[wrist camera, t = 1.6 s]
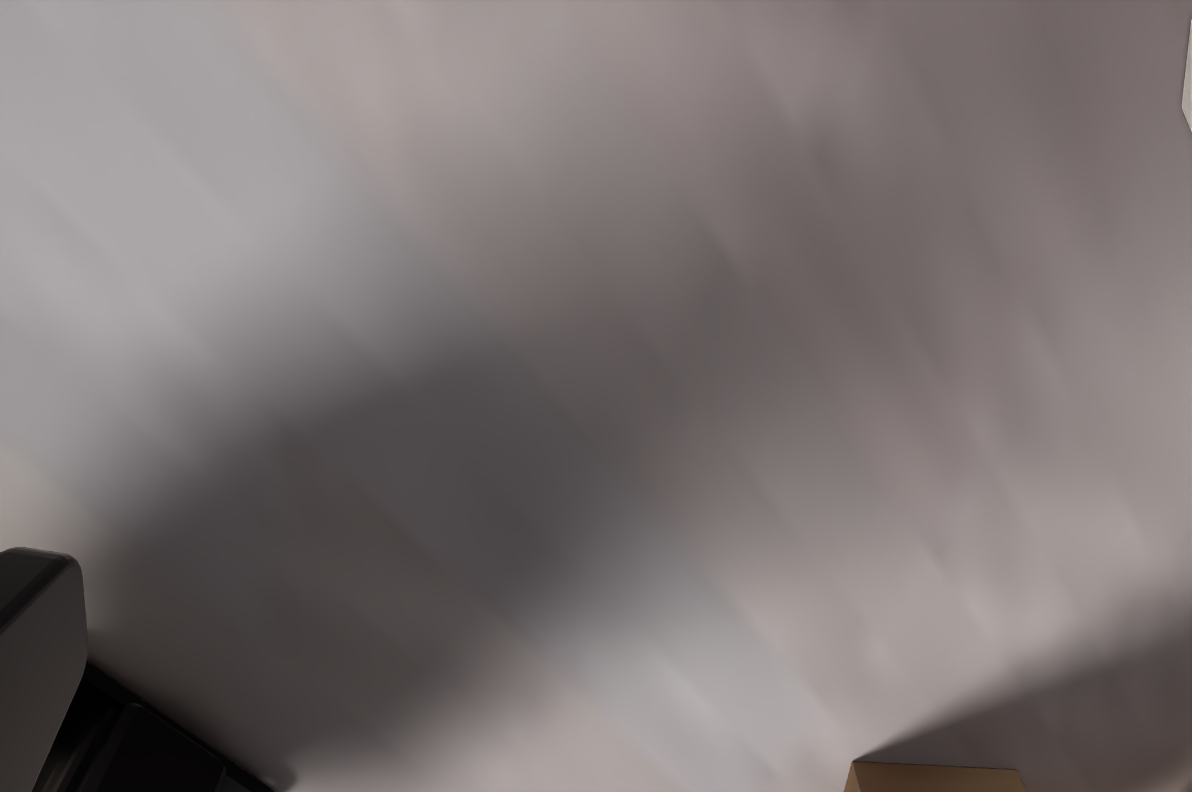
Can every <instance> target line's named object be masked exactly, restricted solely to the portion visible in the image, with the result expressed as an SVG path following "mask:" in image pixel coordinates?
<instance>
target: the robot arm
mask: <svg viewBox="0 0 1192 792" xmlns="http://www.w3.org/2000/svg"><path fill="white" fill-rule="evenodd" d="M87 655H88V635H87V624H86V612H85V601H84V589H83V578H82V572H81V568H80V565H79V563H78V561H77V560H76V559H75V558H74V557H72V556H70V555H68V554H64V553H58V552H51V551H45V550H38V549H32V548H26V547H15V548H10V549H8V550H5V551H3V552H0V792H274V791H273V790H272V789H271V788H269V787H268V786H267V785H265V784H264V783H262V782H261V781H259V780H258V779H256V778H255V777H254V776H252V775H251V774H249V773H248V772H246V771H245V770H243V769H242V768H241V767H239V766H238V765H236V764H235V763H233V762H232V761H230V760H229V759H227V758H226V757H225V756H223V755H222V754H220V753H219V752H217V751H216V750H214V749H213V748H212V747H210V746H209V745H207V744H206V743H204V742H203V741H201V740H200V739H199V738H197V737H196V736H194V735H193V734H191V733H190V732H188V731H187V730H185V729H184V728H183V727H181V726H180V725H178V724H177V723H175V722H174V721H172V720H171V719H170V718H168V717H167V716H165V715H164V714H162V713H161V712H159V711H158V710H157V709H155V708H154V707H152V706H151V705H149V704H148V703H146V702H145V701H143V700H142V699H141V698H139V697H138V696H136V695H135V694H133V693H132V692H130V691H129V690H128V689H126V688H125V687H123V686H122V685H120V684H119V683H117V682H116V681H115V680H113V679H112V678H110V677H109V676H107V675H106V674H104V673H103V672H101V671H100V670H99V669H97V668H96V667H94V666H93V665H91V664H90V663H88V662H87Z"/></svg>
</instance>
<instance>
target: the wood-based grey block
mask: <svg viewBox="0 0 1192 792" xmlns="http://www.w3.org/2000/svg"><path fill="white" fill-rule="evenodd" d="M844 792H1027V791H1026V789H1025V787H1024V785H1023V782H1022V780H1021V778H1020V776H1019V773H1018V771H1017V770H1005V769H986V768H966V767H947V766H928V765H908V764H889V763H870V762H852V764H851V768H850V772H849V775H848V779H847V783H846V786H845V790H844Z"/></svg>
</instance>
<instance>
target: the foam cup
mask: <svg viewBox="0 0 1192 792" xmlns="http://www.w3.org/2000/svg"><path fill="white" fill-rule="evenodd" d="M1182 110H1183V112H1184V115H1185V117H1186V119H1187V122H1188V124H1189V127H1190V129H1191V131H1192V20H1191V26H1190V35H1189V44H1188V53H1187V62H1186V71H1185V80H1184V89H1183V98H1182Z"/></svg>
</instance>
